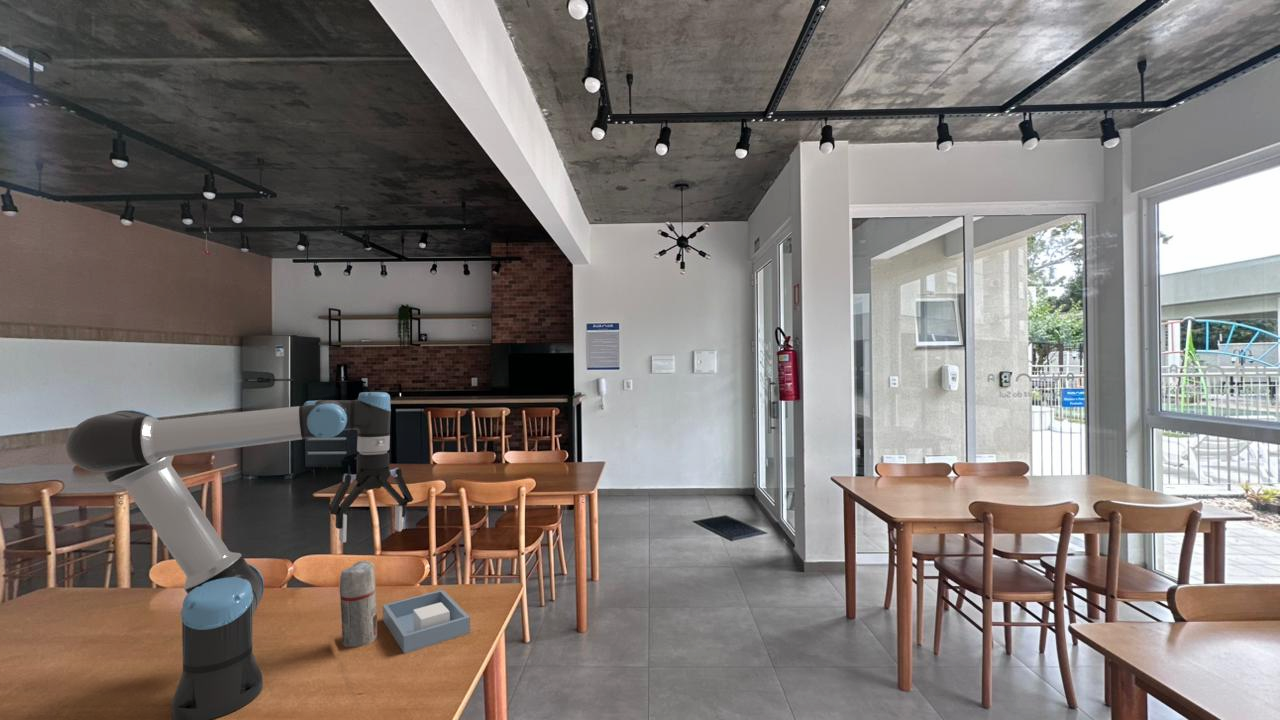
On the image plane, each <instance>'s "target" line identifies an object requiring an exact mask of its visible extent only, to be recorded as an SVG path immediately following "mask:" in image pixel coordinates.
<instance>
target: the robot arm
mask: <svg viewBox="0 0 1280 720" xmlns="http://www.w3.org/2000/svg"><path fill="white" fill-rule="evenodd" d="M391 412H392V409H391V396H390V394H389V393H388V392H385V391H384V392H383V391H370V392H369V391H368V392H367V391H366V392H365V391H364V392H359V394H358V397H357V399H354V400H353V399H352V400H346V399H345V400H338V399H337V400H336V399H335V400H334V399H333V400H332V399H330V400H329V399H327V400H326V399H325V400H324V399H323V400H322V399H318V400H306V401H305V402H304V404H303V405H300V406H299V405H298V406H288V407H287V406H286V407H278V408H268V409H260V410H256V409H255V410H249V411H238V412H226V413H218V414H209V415H207V414H206V415H198V416H188V417H179V418H168V419H158V418H156V417H155V416H154V415H152V414H150V413H148V412H147V413H146V412H143V411H140V410H139V411H138V410H132V409H131V410H130V409H127V410H117V411H115V412H110V413H105V414H100V415H94V416H92V417H90V418H89V417H88V418H86V419H85V420H83V421H81V422H80V423H79V424H77V425H76V426H74V427H73V429H72V430H71V432H70V433H69V435H68V437H67V439H66V442H65V450H66V454H67V456H68V459H70V461H71V462H72V463H73V464H75V465H76V466H77V467H79V468H80V469H83V470H85V471H89V472H93V473H103V475H104V477H105V478H106V479H107V481H108V483H110V484H111V485H116V486H122V487H123V488H124V489H125V490H126V491H127V493H128V494H129V496H130V497H131V499H132V500H133V502H134V503H135V504H136V505H137V507H138V509H139V510H140V512H141V513H142V514H143V515H144V517H145V519H146V520H147V522H148V523H149V524H150V526H151V527H152V529H153V530H154V531H155V533H156V534H157V536H158V537H159V539H160V541H161V542H162V544H163V545H164V546H165V547H166V549H167V550H168V552H169V553H170V554H171V556H172V557H173V559H174V560H175V562H176V563H177V565H178V566H179V568H180V569H181V570H182V572H183V573H184V574H185V576H186V579H185V582H184V585H183V589H184V591H185V592H186V593H187V594H186V595H185V597H184V599H183V601H182V607H181V610H180V616H181V623H182V624H181V626H182V627H181V628H182V629H181V630H182V635H181V636H182V638H181V639H182V641H181V642H182V643H181V644H182V645H181V646H182V673H181V676H180V679H179V681H178V684H177V687H176V689H175V692H174V696H173V698H172V701H171V716H172V718H173V719H174V720H213V719H218V718H219V717H222V716H225V715H228V714H230V713H233V712H235V711H238V710H239V709H240V708H243V707H245V706H246V705H248V704H249V703H251V702H252V701H253V700H255V699H256V698H257V697H258V696H259V695H260V694H261V693H262V691H263V688H264V682H263V681H264V680H263V679H264V678H263V673H262V672H261V671H262V670H261V669H260V667H259V665H258V662H257V660H256V658H255V656H254V653H253V652H254V651H253V644H254V643H253V619H254V616H255V613H256V611H257V608H258V606H259V604H260V602H261V600H262V597H263V594H264V591H265V584H264V582H265V581H264V577H263V575H262V573H261V571H260V570H259V569H257V568H256V567H255V566H254V565H252V564H250V563H248V562H247V561H246V559H245V558H244V557H243V555H242V553H240V552H232V551H230V550H229V548H228V547H227V545H226V544H225V543H224V541H223V540H222V539H221V537H220V535H219V533H218V532H217V531H216V529H215V528H214V526H213V525H212V523H211V521H210V520H209V519H208V517H207V516H206V515H205V513H204V511H203V510H202V508H201V507H200V506H199V504H198V502H197V500H196V499H195V498H194V497H193V495H192V494H191V492H190V491H189V489H188V487H187V486H186V484H185V483H184V481H183V480H182V478H181V477H180V475H179V474H178V472H177V471H176V470H175V468H174V467H173V465H172V462H173V460H174V457H175V456H181V455H182V456H183V455H189V454H190V455H191V454H198V453H205V452H206V453H207V452H213V451H222V450H228V449H229V450H230V449H237V448H243V447H254V446H258V445H268V444H275V443H282V442H292V441H299V440H309V439H310V440H311V439H317V438H320V439H330V438H334V437H336V436H338V435H339V434H340V433H342V432H343V431H350V430H351V431H353V430H355V431H356V430H357V443H356V451H357V452H359V453H357V455H356V472H355V474H354V473H353V474H348V473H346V472H345V473H343V474H342V478H341V483H340V485H339V487H338V489H337V491H336V492H335V494H334V496H333V498H332V501H330V504H329V506H328V507H327V509H326V511H327V513H329V514H331V515H335V522H334V523H335V525H334V526H335V528H336V529H338V531H339V533H338V536H339V537H338V540H339V541H340V542H341V543H347V525H348V523H347V522H348V515H347V514H346V512H347V511H348V509H349V508H350V507H351V506H352V504H353V503H354V502H355V501H356V499H357V498H358V497H359V496H360V494H361V493H364V491H365V490H366V491H371V490H373V489H378V490H379V489H381V488H382V487H383V489H385V490H386V492H387V493H388V494H389V495H390V496H391V497H392V498H393V499H394V500H395V501H396V503H397V504H395V505H394V530H395V531H396V532H402V530H403V518H405V517H406V509H407V508H406V506H408V503H412V502H413V501H414V498H413V496H412V494H411V491H410V490H409V487H408V486H407V484H406V482H405V480H404V478H403V473H402V469H401V468H399V467H394V468H393V469H390V453H389V452H388V451H389V450H390V443H391V442H390V439H391V436H390V435H391ZM390 476H391V477H392V478H393V479H394V480H395V483H396V485H397V487H398V489H399V491H400V492H401V494H402V495H403V496H402V495H401V494H400V493H399V492H398V491H397V490H396V489H395V488H394V487H393V486H392V484H390V482H389V481H388V480H389V478H390ZM354 480H355V481H356V484H355V485H354V486H353V489H352V490H351V491H350V492H349V493H348V495H347V496H346V494H347V491H348V490H349V488H350V486H351V484H352V483H353V482H354ZM344 497H345V498H344Z"/></svg>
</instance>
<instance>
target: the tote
mask: <svg viewBox="0 0 1280 720" xmlns="http://www.w3.org/2000/svg"><path fill="white" fill-rule="evenodd" d="M440 602H441V603H442V604H443V605H444V606H445V607H446V608H447V609H448V610H449V611H450V621H449V622H445V623H442V624H439V625H435V626H432V627H428V628H425V629H421V630H418V631H415V632H414V629H413V610H414V609H418V608H421V607H425V606H429V605H432V604H436V603H440ZM382 621H383V623H384V624H385V626H386V628H387V629H388V630H389V632H390V634H391V636H392V637H393V638H394V640H395V642H396V643H397V645H398V646H399V647H400V649H401V651H402V653H403V654H407V653H411V652H414V651H417V650H420V649H423V648H427V647H430V646H433V645H437V644H439V643H444V642H446V641H448V640H452V639H455V638H460V637H463V636H464V635H467V634H471V616H470V615H469V614H468V613H467V612H466V611H465V610H463V608H462V607H461V606H460V605H459V604H457V602H456V601H455V600H454V599H453V598H452V597H451V596H450V595H449V594H448V593H447V592H446V591H445V590H444V589H440V590H436V591H431V592H428V593H425V594H420V595H417V596H413V597H409V598H405V599H402V600H398V601H394V602H390V603H386V604H382Z"/></svg>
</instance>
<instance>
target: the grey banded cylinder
mask: <svg viewBox="0 0 1280 720" xmlns="http://www.w3.org/2000/svg"><path fill="white" fill-rule="evenodd" d="M339 581H340V583H339V596H340V597H339V598H340V599H339V600H340V612H341V613H340V614H341V617H340V618H341V636H342V640H341V641H342V645H343V646H344V647H345V648H358V647H364V646H367V645H369V644H371V643H373V642H374V641H376V640H377V638H378V614H377V612H378V611H377V592H376V591H377V590H376V589H377V588H376V571H375V564H374V563H373V562H372V561H367V560H360V561H357V562H355V563H354V564H353V565H352V566H350V567H348V568H345V569H343V570H342V571H341V573H340V579H339Z"/></svg>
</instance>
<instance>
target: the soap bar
mask: <svg viewBox="0 0 1280 720" xmlns="http://www.w3.org/2000/svg"><path fill="white" fill-rule="evenodd" d="M449 621H450V611H449V610H448V609H447V608H446V607H445V606H444V605H443V604H442V603H441V602H440V603H436V604H432V605H429V606H425V607H421V608H418V609H414V610H413V629H414V632H415V631H418V630H421V629H425V628H428V627H432V626H435V625H439V624H442V623H445V622H449Z"/></svg>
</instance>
